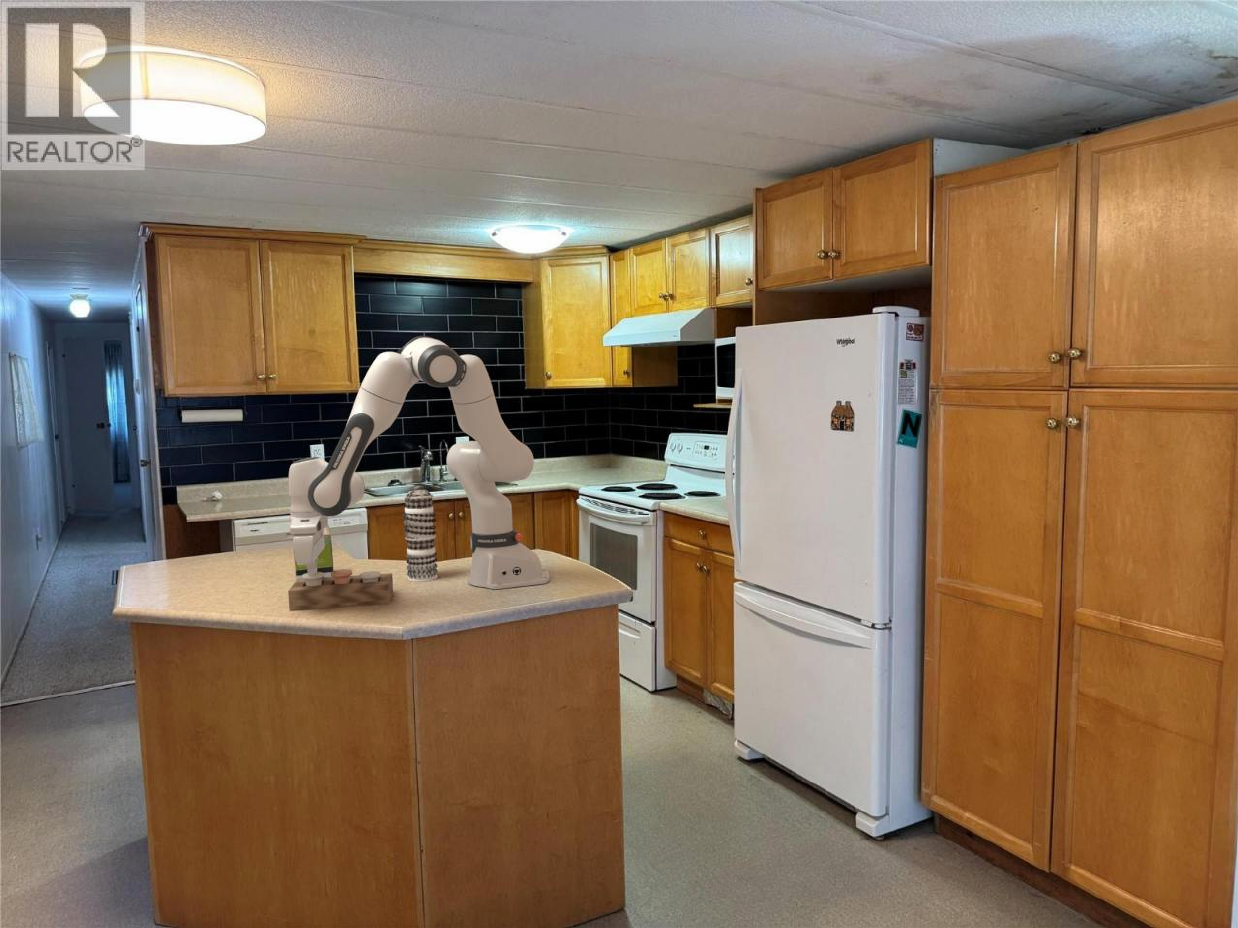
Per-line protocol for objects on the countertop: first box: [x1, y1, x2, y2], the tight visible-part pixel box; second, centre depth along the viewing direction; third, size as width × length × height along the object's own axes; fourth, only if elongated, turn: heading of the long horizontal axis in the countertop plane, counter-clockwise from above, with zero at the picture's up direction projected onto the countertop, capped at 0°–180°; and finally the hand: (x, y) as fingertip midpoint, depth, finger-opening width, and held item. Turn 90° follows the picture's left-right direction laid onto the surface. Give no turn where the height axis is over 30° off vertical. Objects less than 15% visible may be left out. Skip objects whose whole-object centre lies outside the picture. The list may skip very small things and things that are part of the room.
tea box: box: [292, 524, 334, 582], centre depth 236 cm, size 15×10×15 cm, turn 21°
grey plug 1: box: [302, 572, 324, 586], centre depth 214 cm, size 5×5×5 cm
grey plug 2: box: [358, 570, 381, 583], centre depth 216 cm, size 5×5×5 cm
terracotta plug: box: [331, 568, 353, 585], centre depth 215 cm, size 5×5×5 cm
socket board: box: [287, 572, 394, 611], centre depth 215 cm, size 24×12×5 cm, turn 100°
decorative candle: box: [402, 489, 439, 583], centre depth 236 cm, size 9×9×25 cm
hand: (312, 574), depth 213 cm, fingers closed, pressing on grey plug 1
